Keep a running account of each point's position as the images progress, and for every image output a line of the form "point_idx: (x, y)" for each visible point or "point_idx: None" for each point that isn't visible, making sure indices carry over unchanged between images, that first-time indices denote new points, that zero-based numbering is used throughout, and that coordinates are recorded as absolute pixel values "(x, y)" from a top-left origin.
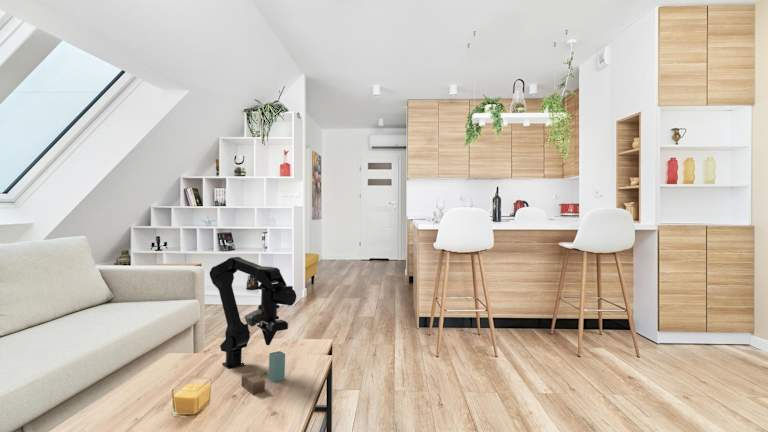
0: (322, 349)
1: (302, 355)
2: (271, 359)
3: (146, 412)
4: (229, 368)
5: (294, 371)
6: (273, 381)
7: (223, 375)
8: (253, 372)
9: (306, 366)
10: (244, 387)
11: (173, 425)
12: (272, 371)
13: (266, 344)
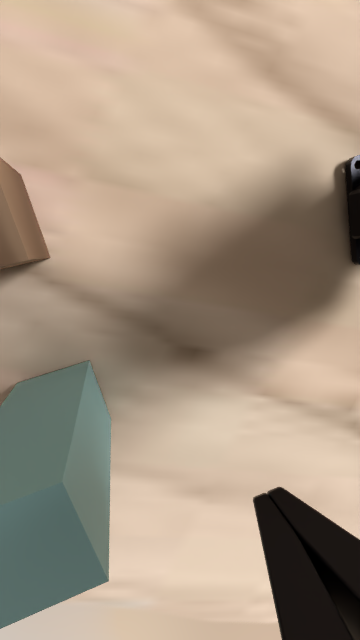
0: None
1: None
2: (21, 458)
3: None
4: (346, 165)
5: (153, 494)
6: (25, 381)
7: (266, 105)
8: (14, 260)
9: (195, 547)
10: None
11: None
12: (25, 405)
13: (265, 497)
